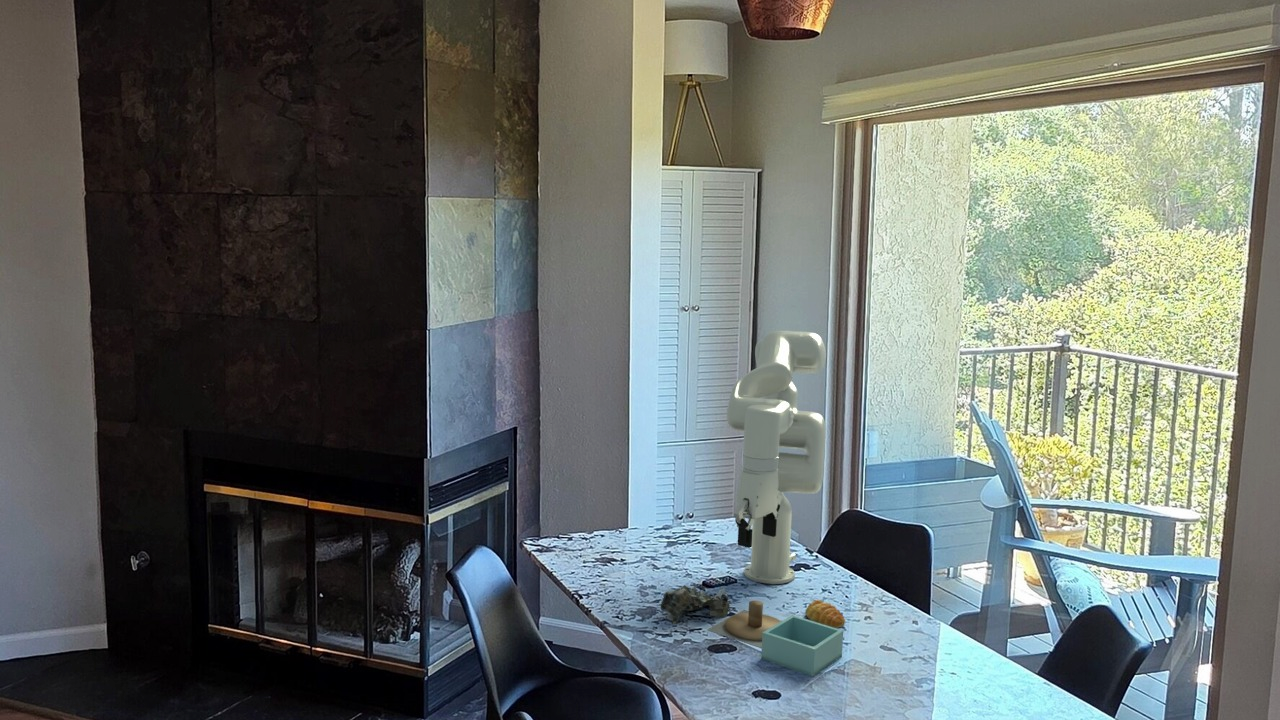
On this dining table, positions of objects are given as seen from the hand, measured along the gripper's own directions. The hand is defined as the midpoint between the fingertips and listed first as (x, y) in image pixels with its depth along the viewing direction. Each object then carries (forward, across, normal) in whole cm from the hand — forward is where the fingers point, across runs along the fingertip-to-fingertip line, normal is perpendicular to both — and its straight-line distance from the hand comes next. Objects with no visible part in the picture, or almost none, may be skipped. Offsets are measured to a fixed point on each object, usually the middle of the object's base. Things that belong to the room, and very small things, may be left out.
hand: (757, 540), depth 222 cm
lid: (+20, 0, 0) cm, 20 cm away
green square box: (+20, +6, +15) cm, 26 cm away
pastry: (+21, -16, +9) cm, 28 cm away
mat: (+20, 0, 0) cm, 20 cm away
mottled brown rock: (+21, +2, -14) cm, 25 cm away
